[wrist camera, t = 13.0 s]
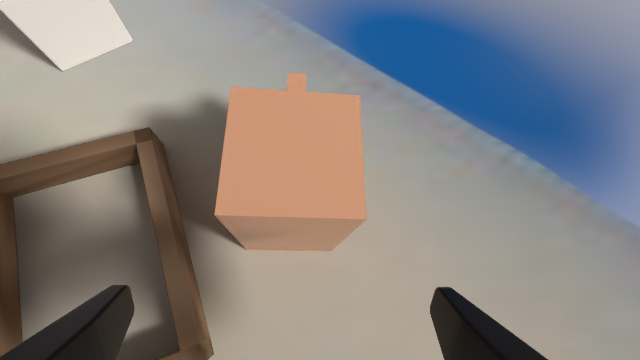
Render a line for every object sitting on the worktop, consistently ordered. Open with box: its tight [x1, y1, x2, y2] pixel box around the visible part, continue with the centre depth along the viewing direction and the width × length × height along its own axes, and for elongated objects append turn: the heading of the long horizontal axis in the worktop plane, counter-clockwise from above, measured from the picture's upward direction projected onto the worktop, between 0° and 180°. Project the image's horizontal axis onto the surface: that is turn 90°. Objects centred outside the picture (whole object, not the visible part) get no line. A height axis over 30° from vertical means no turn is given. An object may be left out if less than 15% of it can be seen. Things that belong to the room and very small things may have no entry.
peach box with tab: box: [214, 73, 366, 251], centre depth 18 cm, size 8×6×10 cm
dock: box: [0, 127, 214, 360], centre depth 18 cm, size 15×11×2 cm
